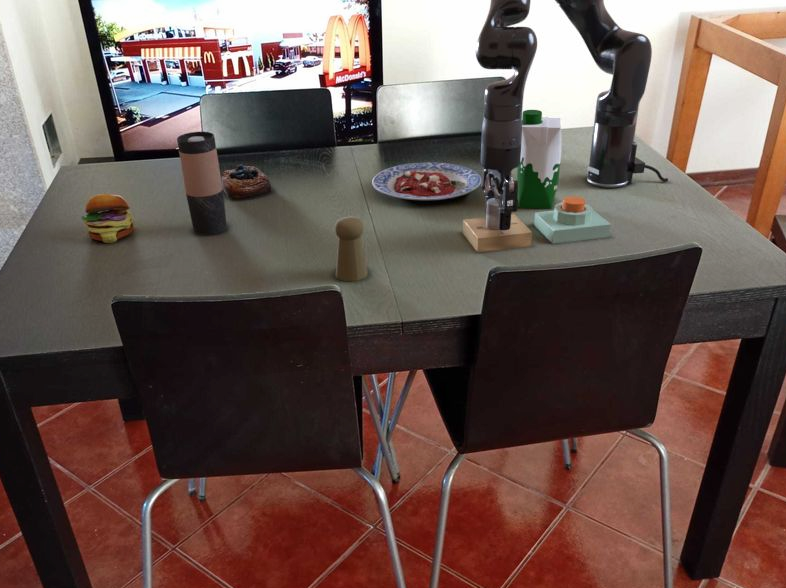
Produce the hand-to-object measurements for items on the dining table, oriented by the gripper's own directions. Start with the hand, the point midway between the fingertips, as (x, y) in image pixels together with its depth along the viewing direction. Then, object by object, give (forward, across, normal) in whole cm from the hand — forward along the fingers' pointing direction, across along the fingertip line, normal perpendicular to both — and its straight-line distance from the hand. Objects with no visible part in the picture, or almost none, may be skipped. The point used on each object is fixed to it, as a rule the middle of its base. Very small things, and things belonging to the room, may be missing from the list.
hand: (497, 221), depth 151 cm
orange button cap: (-1, 0, +16) cm, 16 cm away
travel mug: (+4, -22, -57) cm, 61 cm away
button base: (+4, 0, +16) cm, 16 cm away
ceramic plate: (+4, -33, -6) cm, 34 cm away
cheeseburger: (+4, -25, -78) cm, 82 cm away
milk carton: (+4, -17, +15) cm, 23 cm away
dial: (+1, 0, 0) cm, 1 cm away
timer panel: (+4, 0, 0) cm, 4 cm away
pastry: (+4, -44, -48) cm, 65 cm away
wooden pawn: (+4, +8, -31) cm, 32 cm away
